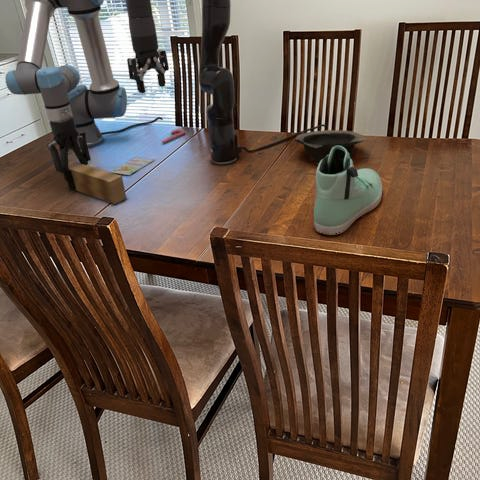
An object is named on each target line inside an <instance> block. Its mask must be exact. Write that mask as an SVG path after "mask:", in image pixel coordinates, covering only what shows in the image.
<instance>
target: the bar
mask: <svg viewBox="0 0 480 480" xmlns="http://www.w3.org/2000/svg"><path fill="white" fill-rule="evenodd" d="M68 168H69V171H71V173H72V176H73V180H74V184H75V187H76V189H75V190H74V191H77V192H80V193H83V194H86V195H88V196H90V197H94V198H97V199H99V200H102V201H105V202H108V203H111V204H113V205H116V204H118V203H120V202H122V201H124V200H126V199H127V194H126V193H127V192H126V190H125V184H124V180H123V176H122V175H121V174H118V173H112V172H111V171H107V170H104V169H100V168H97V167H93V166H90V165H84V164H81V163H80V162H79V161H78V162H77V161H74V160H72V161H70V162H68ZM65 184H66V188H69V185H68V182H67V181H65ZM69 189H70V188H69Z"/></svg>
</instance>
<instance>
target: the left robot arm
mask: <svg viewBox="0 0 480 480" xmlns="http://www.w3.org/2000/svg"><path fill="white" fill-rule="evenodd" d="M104 1H105V0H25V1H24V7H25V8H26V13H25V19H24V24H23V30H22V36H21V41H20V46H19V52H18V56H17V63H16V67H15V69H13V70H8V71H7V73H5V85H6V87H7V90H8V91H9V92H10V93H11V94H13V95H18V96H19V95H22V96H23V95H24V96H26V95H35V94H41V98H42V102H43V104H44V105H43V106H44V108H45V112H46V115H47V119H48V121H49V126H50V129H51V133H52V135H53V141H52V142H50V143H47V144H46V147H47V148H48V150H49V151H50V155H51V158H52V162H53V164H54V168H55V171H56V172H57V173H61V174H62V175H63V178H64V181H65V182H66V181H67V182H68V185H69V189H70V190H74V191H76V190H75V189H76V187H75V184H74V180H73V176H72V173H71V171H69V168H68V163H69V150H72V151H73V153H74V155H75V157H76V158H77V161H78V163H81V164H84V165H87V166H89V162H90V161H91V155H90V151H89V149H92V148H94V147H97V146H99V145H102V143H104V136H105V135H112V134H118V133H122V132H124V131H127V130H130V129H132V128H135V127H140V126H145V125H150V124H154V123H156V122H157V121H158V120H160V121H164V118H163V117H161V116H157V117H156V118H154V119H153V120H150V121H144V122H139V123H134V124H131V125H129V126H126V127H124V128H122V129H118V130H110V131H104V132H103V131H102V132H101V130H100V129H99V127H98V125H97V124H96V121H95V120H96V119H116V118H122V117H124V116H125V115H126V112H127V107H128V95H127V90H126V88H125V87H123V86H120V82H119V80H117V79H116V78H115V77H114V74H113V69H112V66H111V63H110V57H109V54H108V50H107V45H106V41H105V37H104V34H103V33H104V32H103V29H102V25H101V21H100V20H101V19H100V17H99V14H100V12H101V11H102V7H101V6H102V5H103V4H104ZM64 8H66V10H67V13H68V15H69V16H70V17H72V18H73V19H74V22H75V26H76V29H77V34H78V37H79V40H80V44H81V47H82V48H81V49H82V51H83V55H84V58H85V62H86V65H87V69H88V74H89V76H90V81H91V83H90V85H89V88H88V86H87V85H86V84H80V81H81V76H80V74H79V70H77V68H75V67H74V66H73V65H69V64H64V65H60V66H46V67H43V65H44V64H43V63H44V56H45V51H46V45H47V40H48V33H49V27H50V22H51V18H52V17H53V16H54V15H55V11H56V10H57V9H64ZM79 84H80V85H79Z"/></svg>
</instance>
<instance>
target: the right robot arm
mask: <svg viewBox="0 0 480 480" xmlns="http://www.w3.org/2000/svg"><path fill="white" fill-rule="evenodd" d="M125 5H126V12H127V17H128V28H129V34H130V40H131V45H132V50H133V52H134V54H135V55H134V57H133V58H131V57H128V58H127V59H126V62H127V69H128V77H129V80H133V81H135V84H136V88H137V92H138V93H140V94H145V93H146V87H145V81H144V77H145V75H146V74H147V71H150V70H155V72H156V73H157V74H156V76H157V82H158V86H159V87H162V88H163V87H166V76H165V73H166V72H167V71H169V70H170V67H169V66H170V65H169V61H168V55H167V51H166V50H164V49H163V50H162V49H159V42H158V34H157V28H156V22H155V19H154V14H153V7H152V1H151V0H125ZM231 5H232V3H231V0H201V51H200V60H199V72H198V83H199V87H200V89H201V91H203V92H204V93H206V94H209V95H212V103H211V104H209V105H208V106H207V107H206V120H207V129H208V137H209V152H210V158H211V159H210V160H211V163H212V164H214V165H216V166H217V165H218V166H226V165H231V164H234V163H235V162H236V161H237V160H239V158H240V157H239V155H240V154H241V153H243V150H245V152H247V153H255V152H258V151H261V150H264V149H266V148H270V147H272V146H275V145H278V144H281V143H282V142H285V141H287V140H290V139H292V138H294V137H297V136H298V135H300V134H303V133H308V132H311V131H315V130H316V129H319V128H321V127H324V128H328V125H326V124H323V123H322V124H318V125H316V126H314V127H310V128H307V129H303V130H301V131H299V132H296V133H293V134H291V135H289V136H287V137H284V138H282V139H279V140H277V141H275V142H272V143H269V144H266V145H263V146H260V147H258V148H255V149H248V148H247V147H245V146H242V145H239V144H238V143H239V142H238V134H237V133H236V131H235V121H234V107H235V103H236V101H235V80H234V76H233V73H232V72H231V70H230V69H228V68H226V67H221V66H220V52H221V48H222V45H223V43H224V40H225V39H226V36H227V33H228V31H229V29H230V25H231V12H232V11H231V10H232V9H231V8H232V6H231Z"/></svg>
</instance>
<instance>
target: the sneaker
mask: <svg viewBox="0 0 480 480" xmlns="http://www.w3.org/2000/svg"><path fill="white" fill-rule="evenodd" d="M317 165H318V166H317V168H316V172H315V201H314V207H313V225H314V229H315V231H316V232H318V233H320V234H323V235H326V236H327V235H328V236H336V235H339V234H342V233H344V232H345V231H347V230H348V229H349V228H350V227H351V226H352V225H353V224H354V222H356V221H357V220H358V219H359V218H360V217H362V216H363V215H365V214H367V213H370V212H372V210H374V209H375V208H377V207H378V205H380V203H381V200H382V196H383V184H382V183H383V182H382V179H381V176H380V175H379V173H378V172H377V171H376V170H374V169H372V168H367V167H365V168H358V169H357V168H355V167H354V161H353V159H352V158H350V156H349V153H348V152H347V150H346V149H345V148H344V147H342V146H334V147H333V148H332V149H331V152H330V154H329V155H327V156H326V157H325V158H324V159H322V160H321V161H320V163H319V164H317ZM343 230H344V231H343ZM319 231H320V232H319ZM322 232H323V233H322ZM339 232H340V233H339ZM326 233H327V234H326ZM328 233H329V234H328ZM335 233H337V234H335Z"/></svg>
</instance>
